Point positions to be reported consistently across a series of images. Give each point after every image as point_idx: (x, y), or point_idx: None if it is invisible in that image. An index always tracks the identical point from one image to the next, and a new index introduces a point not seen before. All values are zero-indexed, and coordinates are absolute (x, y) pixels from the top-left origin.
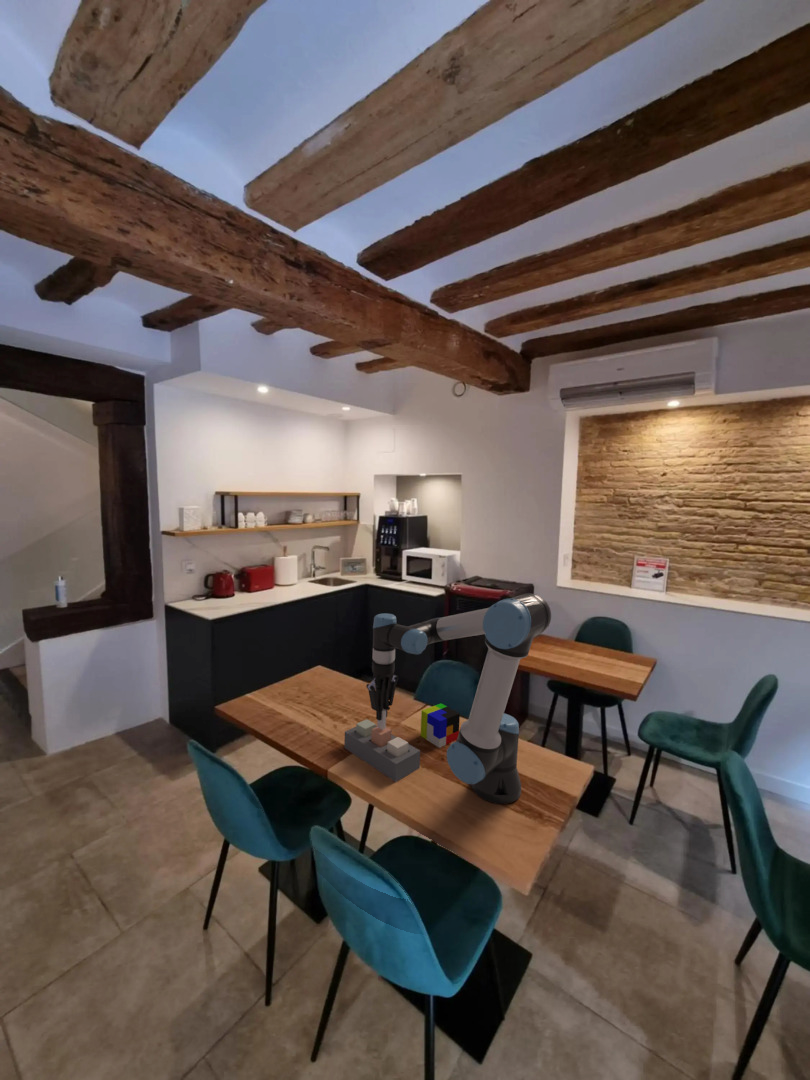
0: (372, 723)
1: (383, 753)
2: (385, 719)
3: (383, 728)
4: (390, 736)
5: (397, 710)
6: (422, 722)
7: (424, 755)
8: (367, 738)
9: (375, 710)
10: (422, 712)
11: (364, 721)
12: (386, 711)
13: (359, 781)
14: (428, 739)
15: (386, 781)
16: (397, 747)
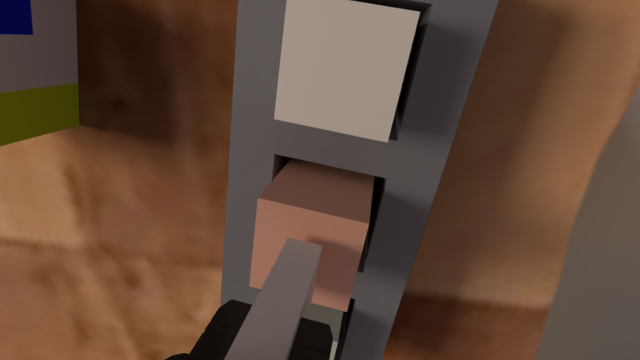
0: None
1: (435, 125)
2: (269, 290)
3: (309, 248)
4: (282, 180)
5: (37, 297)
6: (5, 133)
7: (178, 6)
8: None
9: None
10: None
11: None
12: (206, 353)
13: (567, 149)
14: (71, 70)
15: (496, 32)
16: (412, 21)
